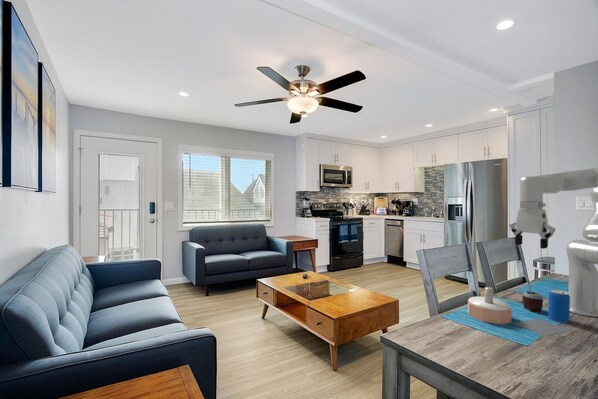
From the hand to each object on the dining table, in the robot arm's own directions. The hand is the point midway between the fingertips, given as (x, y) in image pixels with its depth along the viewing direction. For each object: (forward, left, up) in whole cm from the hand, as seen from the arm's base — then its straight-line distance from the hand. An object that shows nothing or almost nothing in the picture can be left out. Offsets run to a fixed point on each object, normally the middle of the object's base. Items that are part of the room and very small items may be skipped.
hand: (531, 246), depth 125 cm
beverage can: (-6, +7, -30) cm, 31 cm away
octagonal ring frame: (+18, -5, -30) cm, 35 cm away
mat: (+8, +9, -30) cm, 32 cm away
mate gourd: (-7, -4, -30) cm, 31 cm away
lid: (+18, -5, -24) cm, 30 cm away
